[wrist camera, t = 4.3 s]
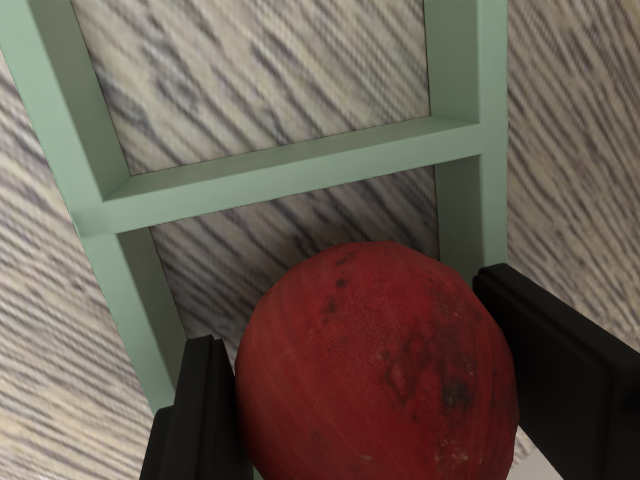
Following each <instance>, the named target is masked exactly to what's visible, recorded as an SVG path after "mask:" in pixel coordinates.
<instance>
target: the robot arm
mask: <svg viewBox="0 0 640 480" xmlns="http://www.w3.org/2000/svg"><path fill="white" fill-rule="evenodd" d="M472 290H473V292H474V294H475V295H476V296H477V298H478V299H479V300H480V302H481V303H482V304H483V305H484V307H485V308H486V309H487V311H488V312H489V313H490V315H491V316H492V317H493V319H494V320H495V321H496V323H497V324H498V325H499V327H500V328H501V329H502V331H503V333H504V336H505V338H506V341H507V343H508V345H509V348H510V350H511V353H512V356H513V364H514V372H515V380H516V389H517V397H518V405H519V414H520V419H519V423H518V425H519V426H520V427H521V428H522V430H523V431H524V432H525V433H526V434H527V436H528V437H529V438H530V439H531V441H532V442H533V443H534V444H535V445H536V447H537V448H538V449H539V450H540V451H541V453H542V454H543V455H544V456H545V458H546V459H547V460H548V461H549V462H550V464H551V465H552V466H553V467H554V468H555V470H556V471H557V472H558V473H559V474H560V476H561V477H562V478H563V479H564V480H640V353H638V352H637V351H635V350H634V349H632V348H631V347H629V346H628V345H627V344H625V343H624V342H622V341H621V340H619V339H618V338H616V337H615V336H613V335H612V334H610V333H609V332H607V331H606V330H604V329H603V328H601V327H600V326H598V325H597V324H595V323H594V322H592V321H591V320H589V319H588V318H586V317H585V316H583V315H582V314H580V313H579V312H577V311H576V310H574V309H573V308H571V307H570V306H568V305H567V304H565V303H564V302H563V301H561V300H560V299H558V298H557V297H555V296H554V295H552V294H551V293H549V292H548V291H546V290H545V289H543V288H542V287H540V286H539V285H537V284H536V283H534V282H533V281H531V280H530V279H528V278H527V277H525V276H524V275H522V274H521V273H519V272H518V271H516V270H515V269H513V268H512V267H510V266H509V265H507V264H505V263H499V264H495V265H490V266H486V267H482V268H480V269H479V271H478V275H475V276H474V277H473V279H472ZM139 480H254V470H253V464H252V463H251V461H250V459H249V457H248V455H247V453H246V451H245V449H244V447H243V445H242V443H241V441H240V439H239V436H238V428H237V416H236V405H235V377H234V374H233V371H232V367H231V364H230V361H229V358H228V354H227V351H226V348H225V345H224V342H223V340H222V338H221V339H217V340H214V338H213V336H212V335H207V336H203V337H199V338H195V339H190V340H187V341H186V343H185V348H184V353H183V358H182V363H181V368H180V373H179V378H178V383H177V388H176V393H175V398H174V404H173V405H171V406H168V407H164V408H160V409H159V410H158V411H157V412H156V415H155V417H154V421H153V425H152V429H151V433H150V437H149V442H148V446H147V450H146V454H145V458H144V462H143V466H142V470H141V474H140V478H139Z"/></svg>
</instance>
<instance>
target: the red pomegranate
mask: <svg viewBox="0 0 640 480" xmlns="http://www.w3.org/2000/svg"><path fill="white" fill-rule="evenodd" d="M234 365H235V405H236V416H237V428H238V436H239V439H240V441H241V443H242V445H243V447H244V449H245V451H246V453H247V455H248V457H249V459H250V461H251V463H252V464H253V466H254V467H255V468H256V470H257V471H258V472H259V474H260V475H261V477H262V478H263V479H264V480H506V478H507V475H508V473H509V470H510V467H511V464H512V462H513V455H514V444H515V436H516V432H517V427H518V423H519V419H520V414H519V405H518V397H517V389H516V380H515V372H514V364H513V356H512V353H511V350H510V348H509V345H508V343H507V341H506V338H505V336H504V333H503V331H502V329H501V328H500V327H499V325H498V324H497V323H496V321H495V320H494V319H493V317H492V316H491V315H490V313H489V312H488V311H487V309H486V308H485V307H484V305H483V304H482V303H481V302H480V300H479V299H478V298H477V296H476V295H475V294H474V292H473V291H472V290H471V288H470V287H469V286H468V284H467V283H466V282H465V280H464V279H463V278H462V276H461V275H460V274H459V272H458V271H456V270H454V269H453V268H451V267H449V266H447V265H445V264H443V263H442V262H440V261H438V260H436V259H434V258H432V257H429V256H427V255H425V254H422V253H420V252H418V251H415V250H413V249H411V248H409V247H406V246H404V245H402V244H399V243H397V242H395V241H392V240H388V241H367V242H347V243H338V244H336V245H334V246H332V247H330V248H328V249H326V250H324V251H322V252H320V253H318V254H316V255H314V256H312V257H310V258H308V259H306V260H304V261H302V262H300V263H298V264H296V265H294V266H292V267H291V268H290V269H289V270H288V271H287V272H286V273H285V274H284V275H283V276H282V277H281V278H280V279H279V280H278V281H277V282H276V283H275V284H274V285H273V286H272V287H271V288H270V289H269V290H268V291H267V292H266V293H265V294H264V295H263V296H262V297H261V298H260V299H259V300H258V302H257V305H256V307H255V309H254V311H253V314H252V316H251V318H250V321H249V323H248V325H247V327H246V330H245V332H244V334H243V336H242V339H241V341H240V344H239V348H238V352H237V356H236V359H235V363H234Z"/></svg>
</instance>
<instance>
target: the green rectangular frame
mask: <svg viewBox="0 0 640 480" xmlns="http://www.w3.org/2000/svg"><path fill="white" fill-rule="evenodd" d="M424 12H425V27H426V43H427V59H428V74H429V90H430V105H431V116H426V117H421V118H417V119H412V120H407V121H402V122H397V123H392V124H387V125H382V126H377V127H372V128H367V129H362V130H357V131H352V132H347V133H343V134H338V135H333V136H328V137H323V138H318V139H313V140H308V141H303V142H298V143H293V144H288V145H283V146H278V147H273V148H269V149H264V150H259V151H254V152H249V153H244V154H239V155H234V156H229V157H224V158H219V159H214V160H209V161H204V162H199V163H195V164H190V165H185V166H180V167H175V168H170V169H165V170H160V171H155V172H150V173H145V174H140V175H135V176H131V175H130V172H129V170H128V167H127V164H126V161H125V158H124V155H123V152H122V149H121V146H120V143H119V141H118V138H117V135H116V132H115V129H114V126H113V123H112V120H111V117H110V115H109V112H108V109H107V106H106V103H105V100H104V97H103V94H102V91H101V89H100V86H99V83H98V80H97V77H96V74H95V71H94V68H93V65H92V63H91V60H90V57H89V54H88V51H87V48H86V45H85V42H84V39H83V37H82V34H81V31H80V28H79V25H78V22H77V19H76V16H75V13H74V10H73V8H72V5H71V2H70V0H0V49H1V51H2V54H3V56H4V58H5V61H6V63H7V66H8V68H9V70H10V73H11V75H12V77H13V80H14V82H15V85H16V87H17V89H18V92H19V94H20V97H21V99H22V101H23V104H24V106H25V109H26V111H27V113H28V116H29V118H30V121H31V123H32V125H33V128H34V130H35V133H36V135H37V137H38V140H39V142H40V145H41V147H42V149H43V152H44V154H45V157H46V159H47V161H48V164H49V166H50V169H51V171H52V173H53V176H54V178H55V181H56V183H57V185H58V188H59V190H60V193H61V195H62V197H63V200H64V202H65V205H66V207H67V209H68V212H69V215H70V217H71V219H72V222H73V224H74V227H75V229H76V231H77V234H78V236H79V239H80V240H81V243H82V245H83V248H84V250H85V252H86V255H87V257H88V260H89V262H90V264H91V267H92V269H93V272H94V274H95V276H96V279H97V281H98V284H99V286H100V288H101V291H102V293H103V296H104V298H105V300H106V303H107V305H108V308H109V310H110V312H111V315H112V317H113V320H114V322H115V324H116V327H117V329H118V332H119V334H120V336H121V339H122V341H123V344H124V346H125V348H126V351H127V353H128V355H129V358H130V360H131V363H132V365H133V367H134V370H135V372H136V375H137V377H138V379H139V382H140V384H141V387H142V389H143V391H144V394H145V396H146V399H147V401H148V403H149V406H150V408H151V411H152V413H153V415H154V417H155V415H156V412H157V411H158V410H159V409H160V408H164V407H168V406H171V405H173V404H174V398H175V393H176V388H177V383H178V378H179V373H180V368H181V363H182V358H183V353H184V348H185V343H186V341H187V337H186V334H185V331H184V329H183V326H182V323H181V320H180V317H179V314H178V311H177V308H176V305H175V302H174V300H173V297H172V294H171V291H170V288H169V285H168V282H167V279H166V276H165V274H164V271H163V268H162V265H161V262H160V259H159V256H158V253H157V250H156V248H155V245H154V242H153V239H152V236H151V233H150V230H149V227H150V226H154V225H159V224H163V223H168V222H172V221H177V220H182V219H186V218H191V217H195V216H200V215H205V214H209V213H214V212H218V211H223V210H227V209H232V208H237V207H241V206H246V205H250V204H255V203H260V202H264V201H269V200H273V199H278V198H282V197H287V196H292V195H296V194H301V193H305V192H310V191H314V190H319V189H324V188H328V187H333V186H337V185H342V184H347V183H351V182H356V181H360V180H365V179H369V178H374V177H379V176H383V175H388V174H392V173H397V172H402V171H406V170H411V169H415V168H420V167H424V166H429V165H434V167H435V183H436V198H437V214H438V229H439V245H440V260H441V262H442V263H443V264H445V265H447V266H449V267H451V268H453V269H454V270H456V271H458V272H459V274H460V275H461V276H462V278H463V279H464V280H465V282H466V283H467V284H468V286H469V287H470V288H471V290H472V279H473V277H474V276H475V275H478V271H479V269H480V268H482V267H486V266H490V265H495V264H499V263H505V264H507V148H508V118H507V48H508V0H424ZM472 291H473V290H472ZM253 470H254V480H264V479H263V478H262V477H261V475H260V474H259V472H258V471H257V470H256V468H255V467H254V466H253Z"/></svg>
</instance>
